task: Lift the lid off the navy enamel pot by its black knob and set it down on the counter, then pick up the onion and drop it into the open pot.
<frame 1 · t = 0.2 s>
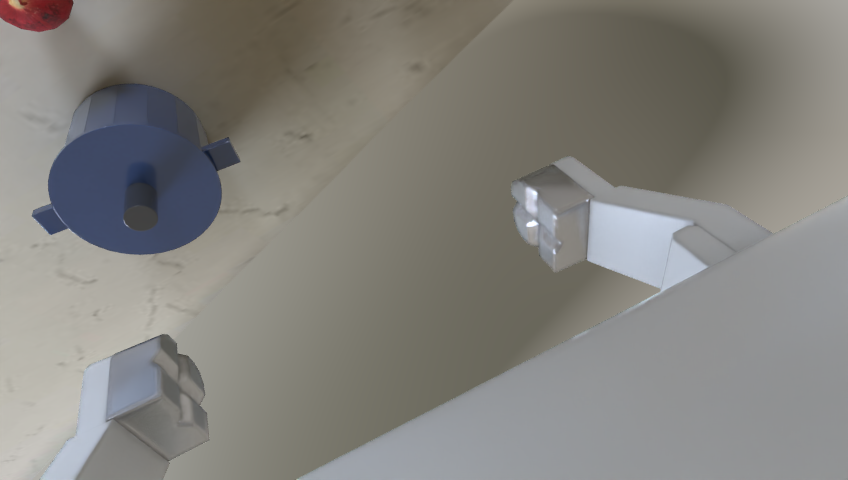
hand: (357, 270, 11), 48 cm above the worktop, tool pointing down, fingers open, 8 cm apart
lid: (141, 191, 45), point 10 cm above the worktop, touching pot
pot: (142, 141, 53), on the worktop
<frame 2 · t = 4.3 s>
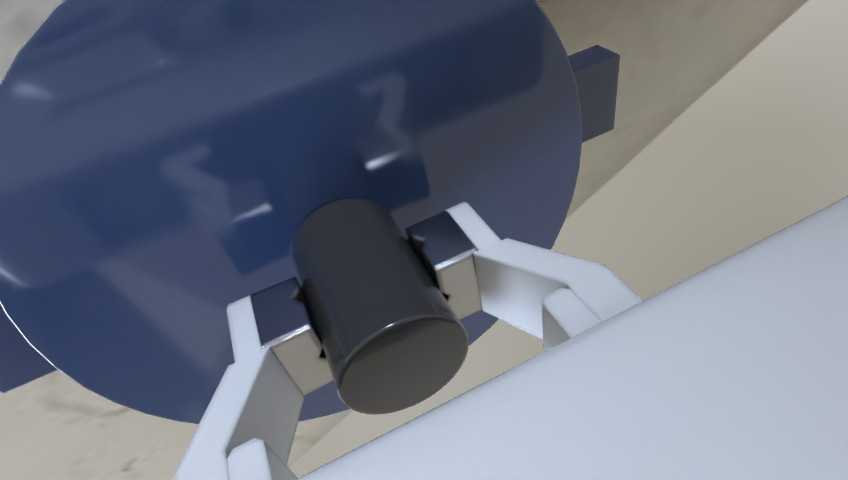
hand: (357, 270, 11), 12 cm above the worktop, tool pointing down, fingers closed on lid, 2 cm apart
lid: (338, 229, 12), point 11 cm above the worktop, touching gripper, pot
pot: (266, 83, 20), on the worktop
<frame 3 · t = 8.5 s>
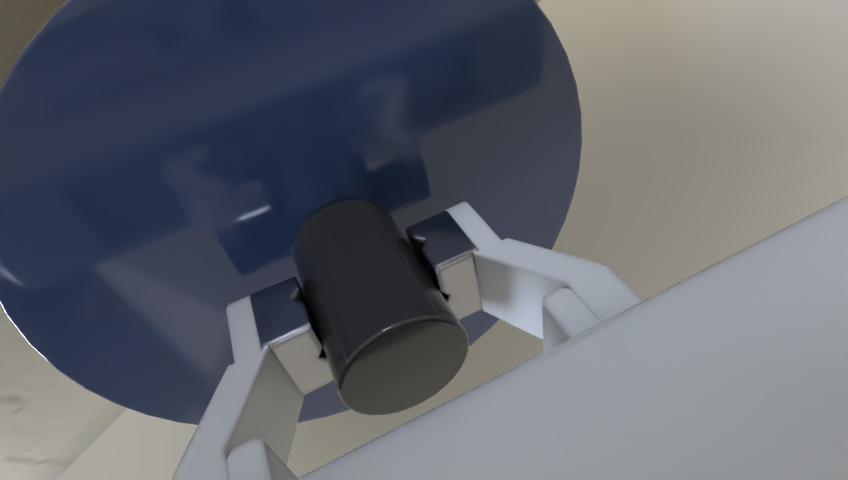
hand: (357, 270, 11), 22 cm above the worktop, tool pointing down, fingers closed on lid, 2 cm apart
lid: (339, 230, 12), point 20 cm above the worktop, touching gripper
when the fingers open (2 cm above the worktop, at t = 12.8 s): lid stays where it is, point 1 cm above the worktop.
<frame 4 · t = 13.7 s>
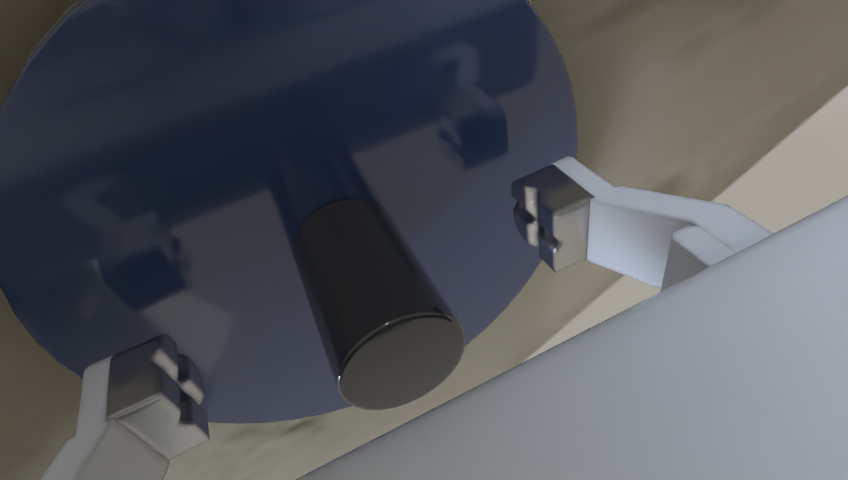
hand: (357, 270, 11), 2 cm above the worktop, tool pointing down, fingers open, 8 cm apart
lid: (338, 229, 13), point 1 cm above the worktop
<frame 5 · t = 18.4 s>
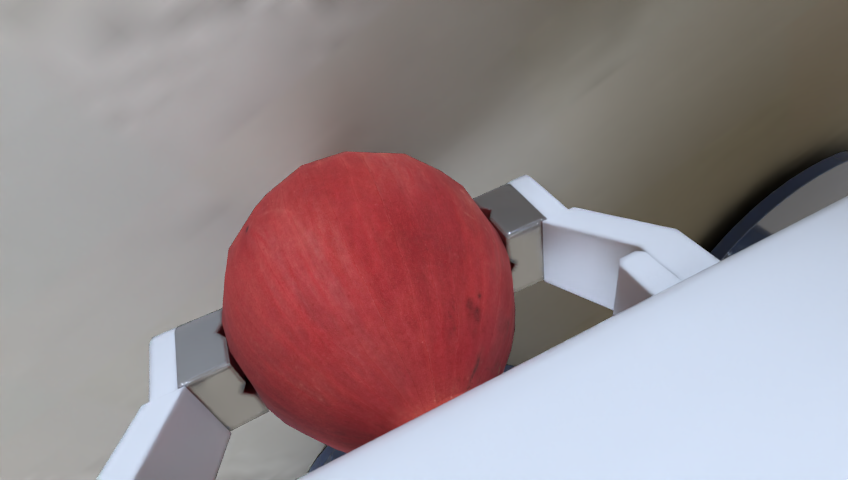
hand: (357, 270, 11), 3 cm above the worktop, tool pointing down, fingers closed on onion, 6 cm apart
onion: (324, 197, 13), on the worktop, touching gripper
lid: (775, 266, 26), point 1 cm above the worktop
pot: (431, 454, 24), on the worktop
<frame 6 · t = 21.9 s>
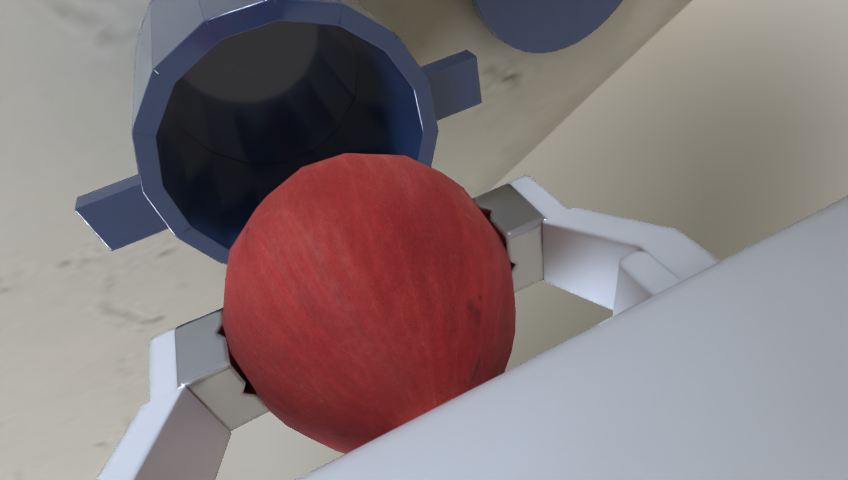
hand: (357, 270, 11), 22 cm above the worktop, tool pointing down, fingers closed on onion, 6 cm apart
onion: (325, 199, 13), point 19 cm above the worktop, touching gripper
pot: (263, 73, 29), on the worktop
when the fingers open (9 cm above the worktop, at t = 25.6 s): onion drops 5 cm, resting on pot.
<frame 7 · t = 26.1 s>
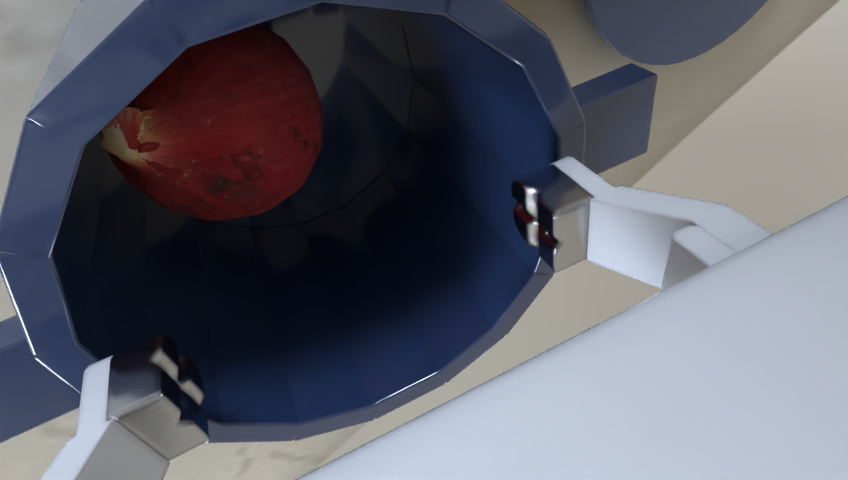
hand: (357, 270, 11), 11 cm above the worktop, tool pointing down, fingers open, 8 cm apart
onion: (274, 104, 18), point 1 cm above the worktop, touching pot
pot: (274, 99, 19), on the worktop
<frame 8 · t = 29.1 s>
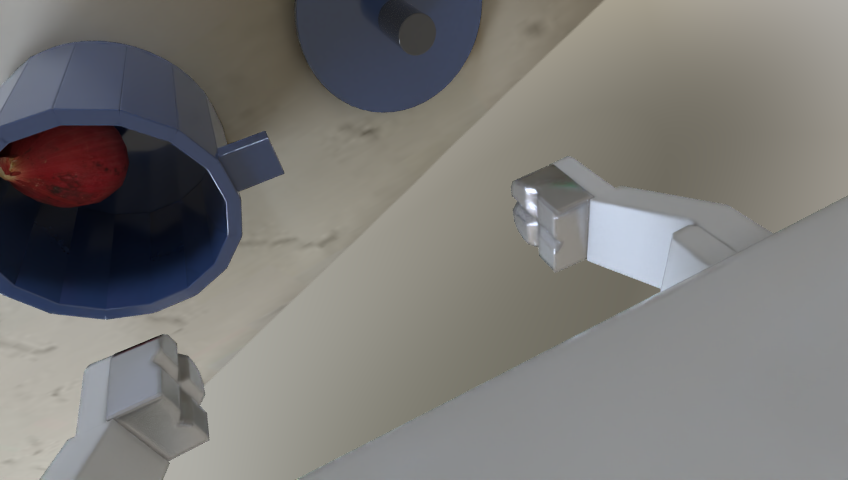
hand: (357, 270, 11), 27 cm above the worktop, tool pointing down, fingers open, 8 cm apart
onion: (116, 143, 32), point 1 cm above the worktop, touching pot
lid: (392, 16, 35), point 1 cm above the worktop
pot: (120, 139, 33), on the worktop
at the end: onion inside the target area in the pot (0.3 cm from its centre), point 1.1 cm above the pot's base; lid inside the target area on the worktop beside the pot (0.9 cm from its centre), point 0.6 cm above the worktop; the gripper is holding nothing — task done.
